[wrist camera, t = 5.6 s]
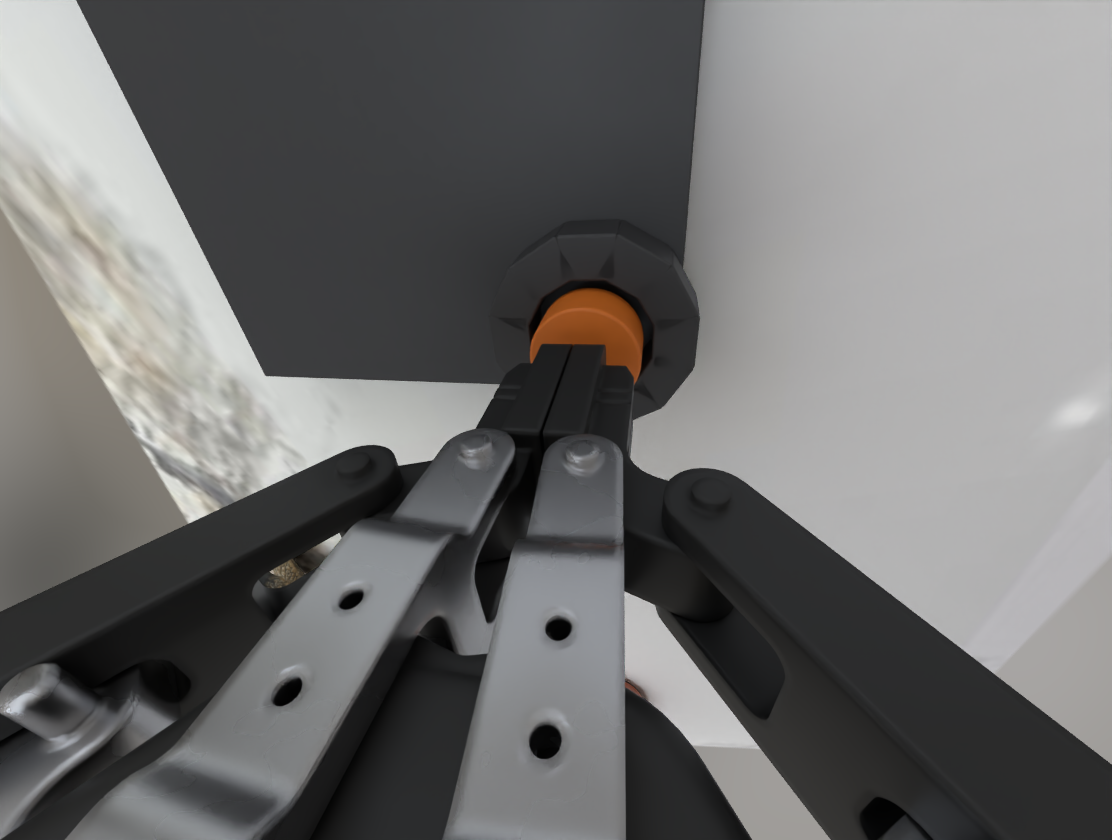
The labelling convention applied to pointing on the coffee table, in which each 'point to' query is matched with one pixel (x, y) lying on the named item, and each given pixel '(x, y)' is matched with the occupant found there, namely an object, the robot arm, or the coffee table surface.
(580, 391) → the robot arm
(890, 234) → the coffee table surface
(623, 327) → the button
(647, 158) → the scale
